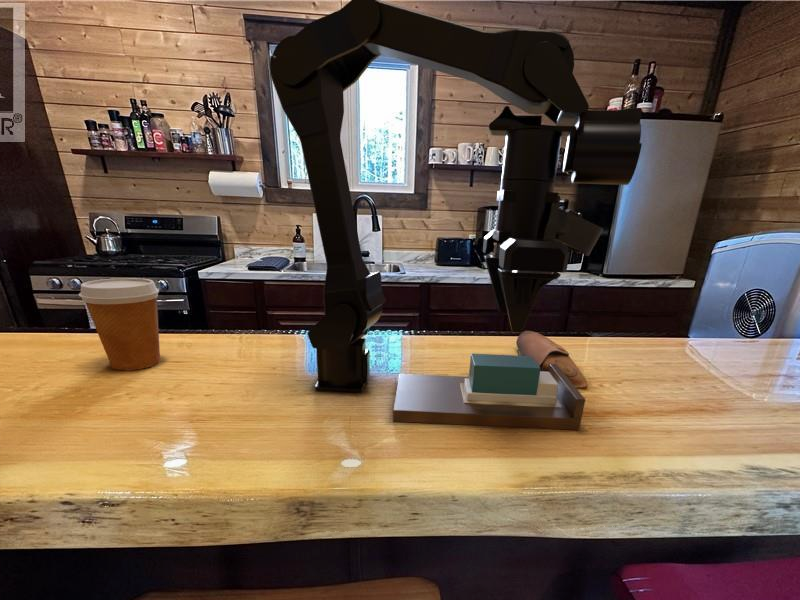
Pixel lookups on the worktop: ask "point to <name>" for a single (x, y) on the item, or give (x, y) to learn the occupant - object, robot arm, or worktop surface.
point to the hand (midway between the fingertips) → (509, 321)
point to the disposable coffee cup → (125, 320)
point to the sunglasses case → (549, 356)
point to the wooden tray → (483, 404)
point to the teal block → (509, 380)
